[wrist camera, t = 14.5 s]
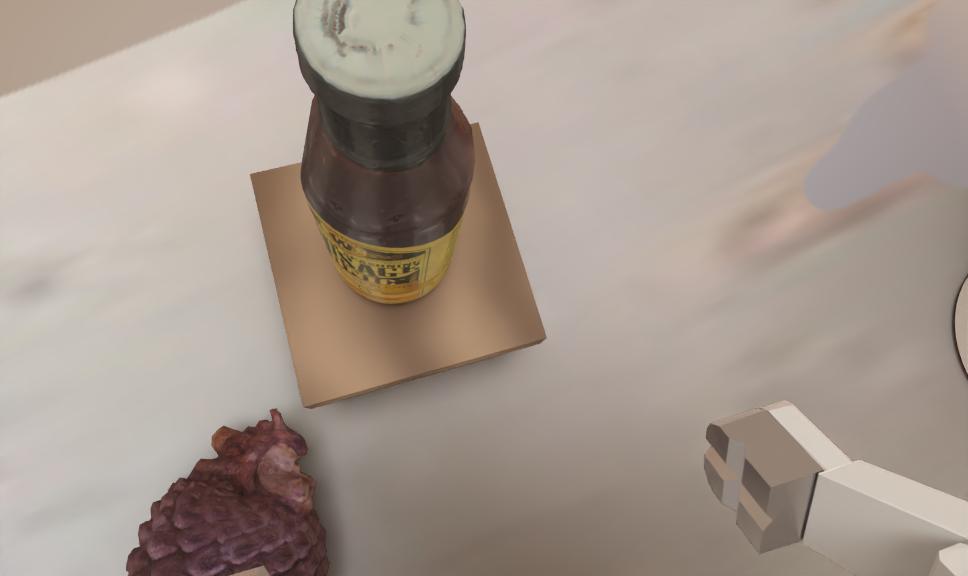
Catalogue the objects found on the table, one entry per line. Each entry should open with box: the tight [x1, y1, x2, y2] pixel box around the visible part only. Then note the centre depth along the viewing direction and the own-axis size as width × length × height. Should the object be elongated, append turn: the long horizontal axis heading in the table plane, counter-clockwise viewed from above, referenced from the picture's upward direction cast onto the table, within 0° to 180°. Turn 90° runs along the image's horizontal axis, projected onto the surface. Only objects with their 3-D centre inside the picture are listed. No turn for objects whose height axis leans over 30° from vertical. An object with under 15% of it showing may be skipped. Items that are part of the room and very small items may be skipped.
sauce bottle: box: [293, 0, 475, 305], centre depth 24 cm, size 7×6×20 cm
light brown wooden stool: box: [250, 123, 547, 409], centre depth 38 cm, size 13×13×9 cm
